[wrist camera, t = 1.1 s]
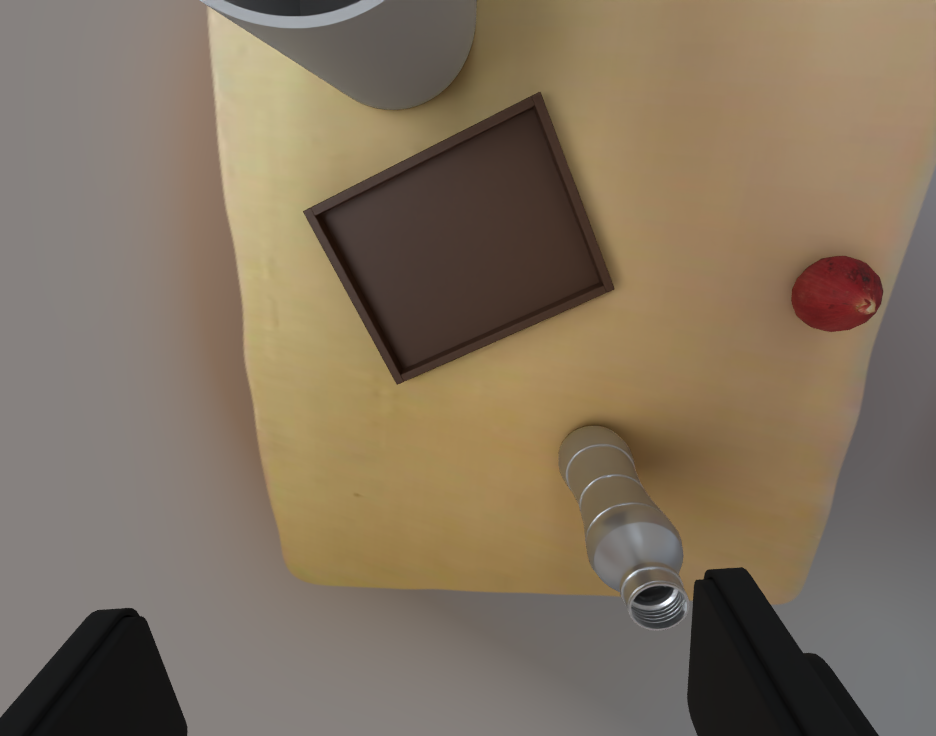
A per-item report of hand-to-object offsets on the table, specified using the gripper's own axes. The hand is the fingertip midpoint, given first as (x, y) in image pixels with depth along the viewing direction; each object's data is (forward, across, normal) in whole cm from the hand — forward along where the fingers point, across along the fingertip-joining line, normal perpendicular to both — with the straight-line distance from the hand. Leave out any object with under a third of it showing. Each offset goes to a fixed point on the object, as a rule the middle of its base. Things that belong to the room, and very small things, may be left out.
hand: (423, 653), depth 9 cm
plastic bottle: (+39, -10, +18) cm, 44 cm away
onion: (+39, -29, +4) cm, 49 cm away
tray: (+39, 0, -1) cm, 39 cm away
